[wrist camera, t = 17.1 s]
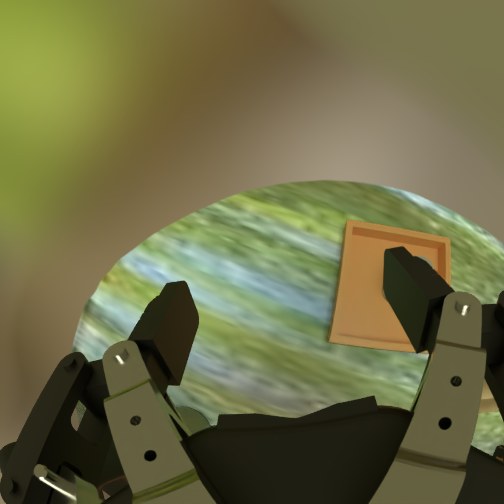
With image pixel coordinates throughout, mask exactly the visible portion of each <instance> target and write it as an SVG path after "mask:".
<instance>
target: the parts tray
mask: <svg viewBox="0 0 504 504" xmlns="http://www.w3.org/2000/svg"><path fill="white" fill-rule="evenodd" d="M400 246H404V247H405V248H406V249H407V250H408V251H409V252H410V253H411V254H412V255H413V256H419V255H420V256H424V257H426V258H428V259H429V260H430V261H431V263H432V264H433V266H434V269H435V271H436V272H437V273H438V275H440V276H441V277H442V278H443V279H444V280H445V281H446V282H447V283H448V284H449V285H450V287H451V251H450V238H447V237H442V236H437V235H432V234H427V233H422V232H417V231H412V230H406V229H401V228H396V227H390V226H384V225H379V224H373V223H367V222H361V221H354V220H348V219H347V221H346V224H345V228H344V233H343V243H342V251H341V259H340V267H339V274H338V281H337V288H336V295H335V301H334V307H333V313H332V318H331V324H330V329H329V334H328V339H327V342H329V343H335V344H342V345H349V346H357V347H365V348H373V349H382V350H391V351H401V352H413V353H416V352H415V350H414V348H413V346H412V344H411V342H410V340H409V338H408V336H407V335H406V333H405V331H404V329H403V327H402V325H401V324H400V322H399V320H398V318H397V316H396V315H395V313H394V311H393V309H392V308H391V306H390V304H389V303H388V302H387V301H386V300H385V299H384V297H383V295H382V287H383V269H384V252H385V250H386V249H389V248H394V247H400ZM421 353H426V354H429V353H428V351H424V352H421Z"/></svg>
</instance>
